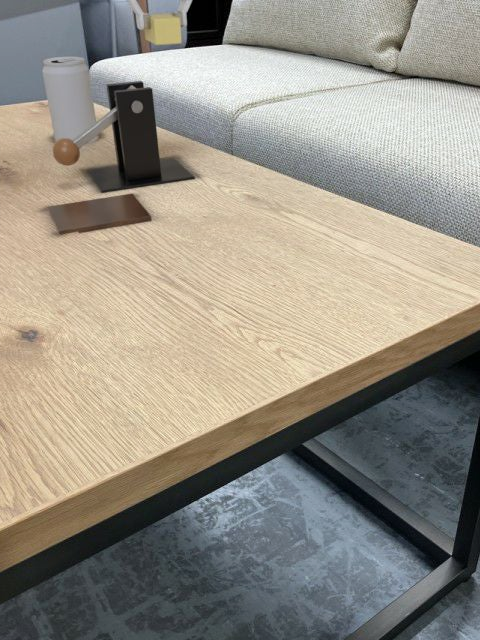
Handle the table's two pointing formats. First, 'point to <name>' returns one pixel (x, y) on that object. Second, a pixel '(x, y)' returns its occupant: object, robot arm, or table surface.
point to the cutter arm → (82, 139)
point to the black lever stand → (135, 144)
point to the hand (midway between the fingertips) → (162, 28)
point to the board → (98, 214)
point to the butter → (164, 29)
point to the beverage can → (69, 96)
